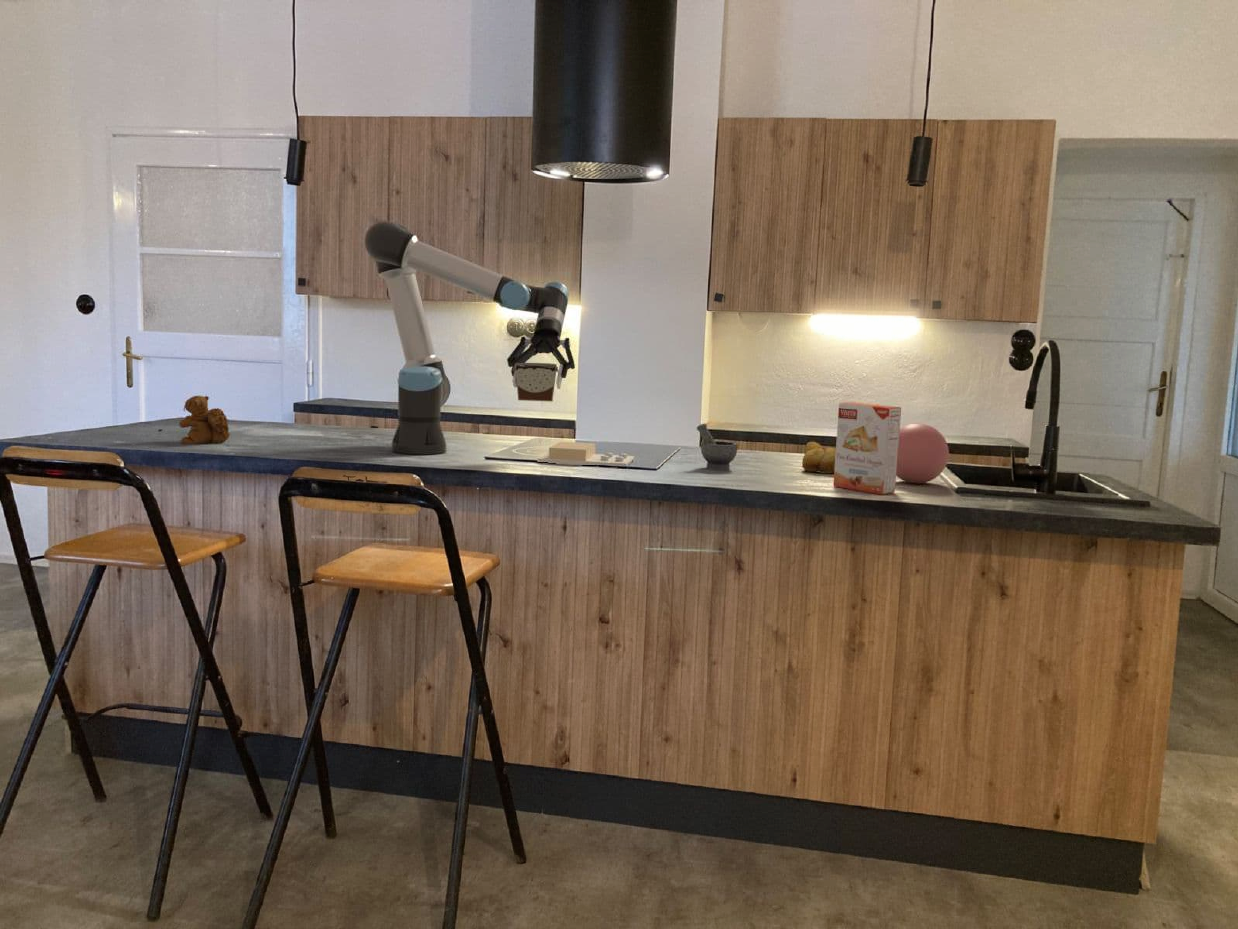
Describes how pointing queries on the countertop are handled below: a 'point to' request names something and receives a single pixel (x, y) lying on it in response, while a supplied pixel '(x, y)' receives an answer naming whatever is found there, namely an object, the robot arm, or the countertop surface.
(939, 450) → the balloon
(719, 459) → the mortar and pestle
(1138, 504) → the countertop surface
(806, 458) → the bread roll
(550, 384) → the food container
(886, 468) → the cracker box
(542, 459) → the build plate
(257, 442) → the countertop surface
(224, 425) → the stuffed squirrel
